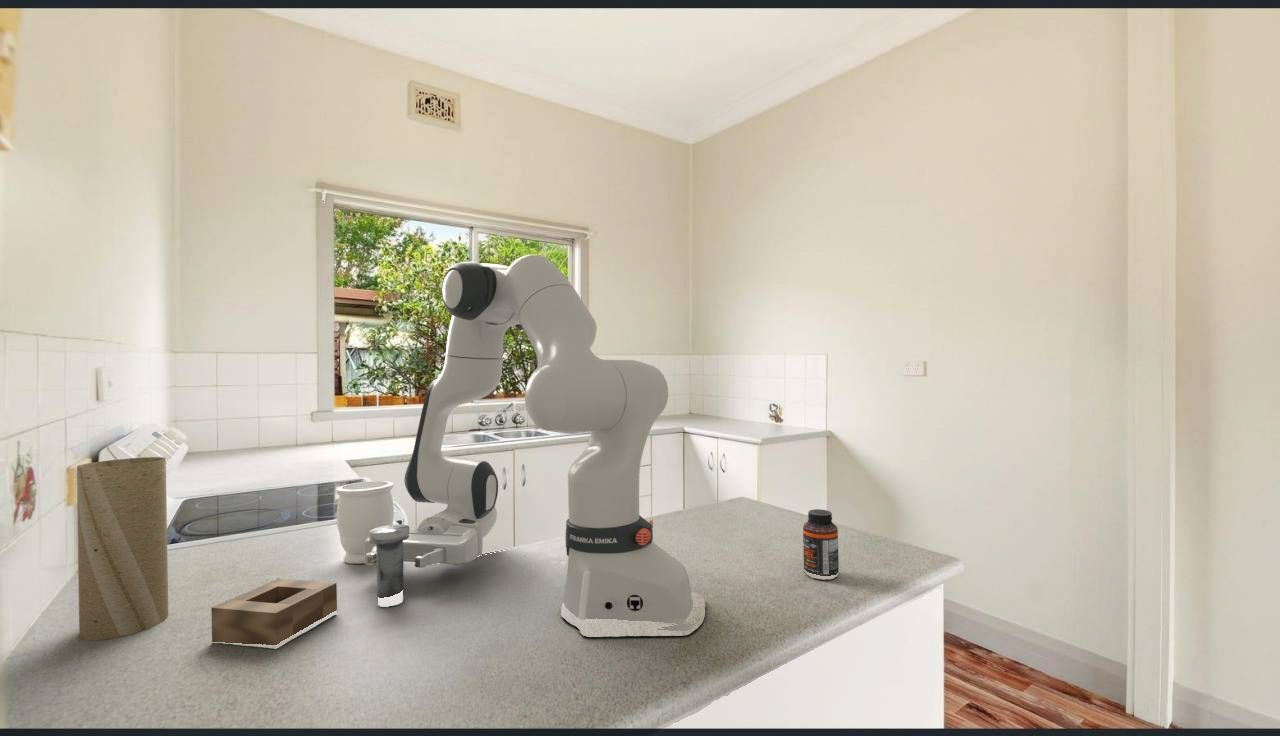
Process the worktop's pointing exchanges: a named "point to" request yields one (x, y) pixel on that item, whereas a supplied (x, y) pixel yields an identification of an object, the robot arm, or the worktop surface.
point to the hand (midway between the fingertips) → (393, 561)
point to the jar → (362, 515)
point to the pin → (389, 558)
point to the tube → (122, 546)
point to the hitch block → (273, 611)
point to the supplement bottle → (820, 544)
